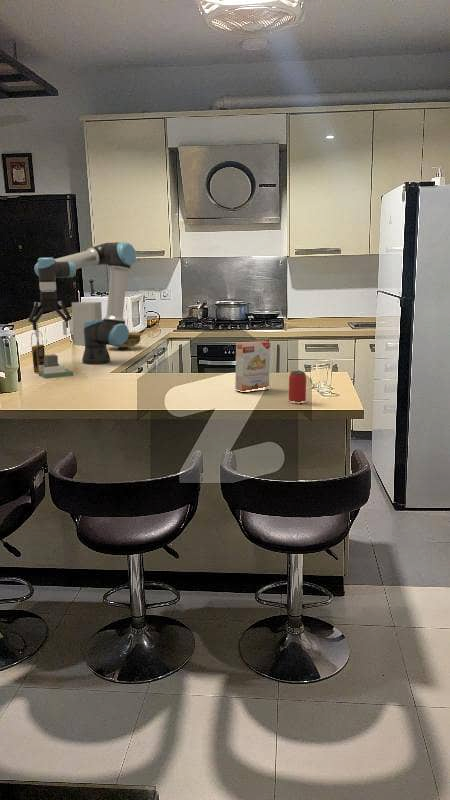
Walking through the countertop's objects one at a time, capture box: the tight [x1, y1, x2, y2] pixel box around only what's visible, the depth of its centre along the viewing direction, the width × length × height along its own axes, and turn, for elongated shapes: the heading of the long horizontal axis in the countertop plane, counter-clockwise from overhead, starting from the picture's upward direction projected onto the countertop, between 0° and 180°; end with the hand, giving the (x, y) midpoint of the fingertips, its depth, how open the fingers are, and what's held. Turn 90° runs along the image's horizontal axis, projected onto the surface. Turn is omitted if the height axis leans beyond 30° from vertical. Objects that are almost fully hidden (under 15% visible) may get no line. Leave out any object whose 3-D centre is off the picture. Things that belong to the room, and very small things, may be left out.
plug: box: [44, 354, 59, 367], centre depth 297 cm, size 5×5×8 cm
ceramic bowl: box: [111, 331, 143, 351], centre depth 390 cm, size 30×24×10 cm
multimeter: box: [30, 331, 46, 375], centre depth 309 cm, size 15×10×20 cm
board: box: [38, 363, 74, 379], centre depth 299 cm, size 14×9×5 cm, turn 124°
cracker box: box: [234, 340, 271, 391], centre depth 260 cm, size 14×6×21 cm, turn 122°
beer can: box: [288, 370, 307, 402], centre depth 239 cm, size 7×7×12 cm
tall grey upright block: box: [71, 301, 103, 347], centre depth 409 cm, size 19×15×28 cm
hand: (51, 336), depth 296 cm, fingers open, 13 cm apart
